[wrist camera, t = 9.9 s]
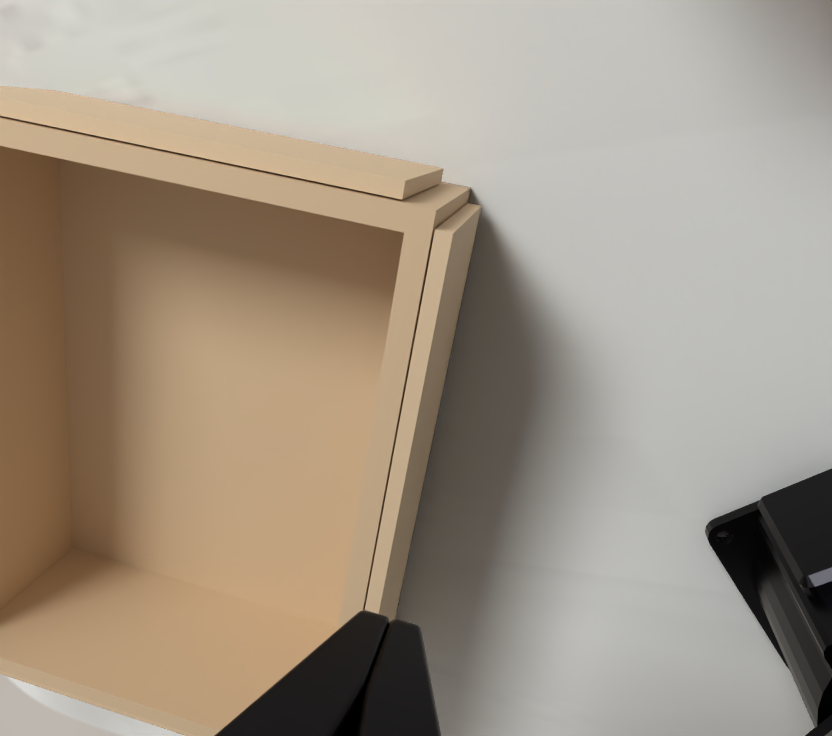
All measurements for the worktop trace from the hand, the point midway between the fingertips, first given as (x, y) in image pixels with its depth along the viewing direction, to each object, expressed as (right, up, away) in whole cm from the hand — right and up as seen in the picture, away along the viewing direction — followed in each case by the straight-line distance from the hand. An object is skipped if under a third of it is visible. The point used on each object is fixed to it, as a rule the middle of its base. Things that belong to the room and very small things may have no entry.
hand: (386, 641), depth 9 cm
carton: (-6, +3, +15) cm, 16 cm away
